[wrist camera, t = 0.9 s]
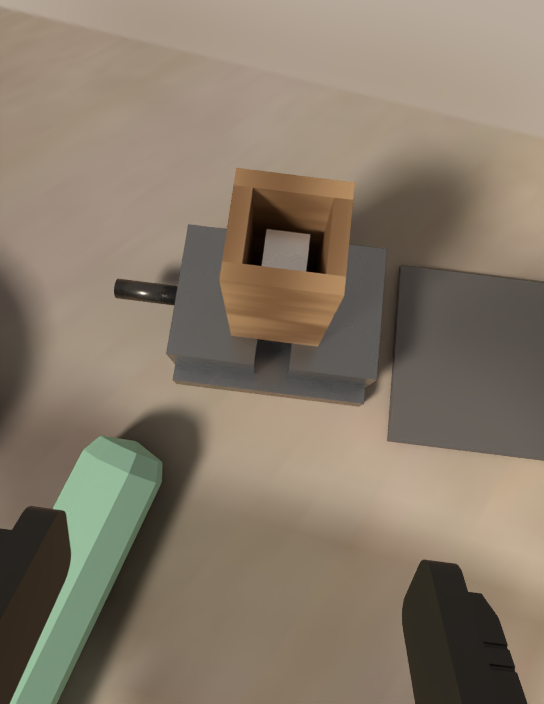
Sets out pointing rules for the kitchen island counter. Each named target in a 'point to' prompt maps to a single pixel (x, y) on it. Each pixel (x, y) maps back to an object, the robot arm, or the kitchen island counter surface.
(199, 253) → the vise
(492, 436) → the mat
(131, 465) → the pale green hexagonal rod
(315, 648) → the kitchen island counter surface
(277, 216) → the sleeve
